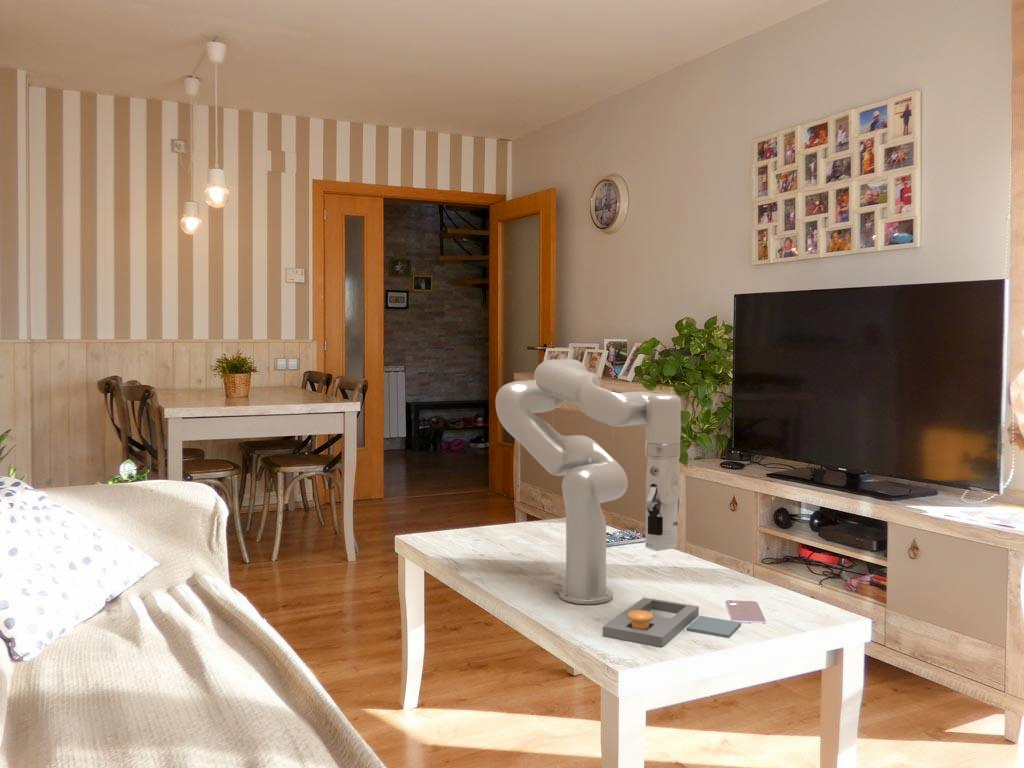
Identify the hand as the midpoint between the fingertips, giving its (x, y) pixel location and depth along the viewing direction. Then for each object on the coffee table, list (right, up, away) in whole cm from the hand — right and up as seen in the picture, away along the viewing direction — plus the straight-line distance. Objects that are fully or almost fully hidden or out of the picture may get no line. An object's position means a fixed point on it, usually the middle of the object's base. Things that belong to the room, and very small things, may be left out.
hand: (661, 530), depth 187 cm
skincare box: (0, -4, 0) cm, 4 cm away
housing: (-3, -20, -4) cm, 20 cm away
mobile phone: (+20, -20, +5) cm, 28 cm away
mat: (+10, -20, -6) cm, 23 cm away
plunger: (-6, -20, -10) cm, 23 cm away
